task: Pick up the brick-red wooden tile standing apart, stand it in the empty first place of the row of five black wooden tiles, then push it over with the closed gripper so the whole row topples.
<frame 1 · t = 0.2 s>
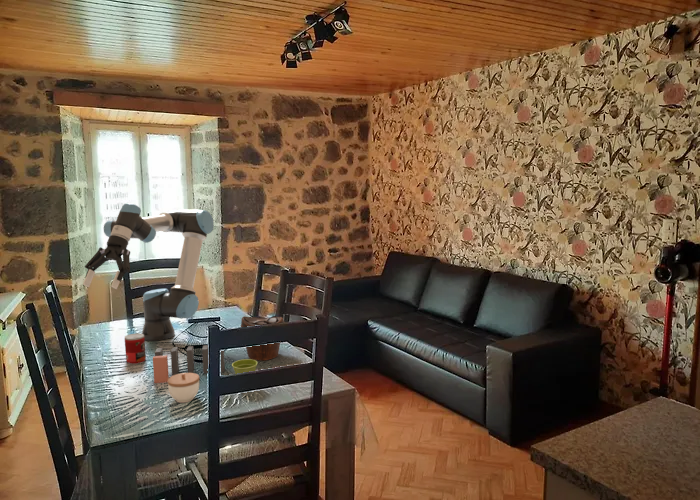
hand: (99, 287, 205), 36 cm above the table, tool tilted 35°, fingers open, 13 cm apart
plant pot: (245, 386, 199), on the table
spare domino: (161, 381, 203), on the table
domino 5: (206, 371, 214), on the table
lidded jar: (184, 399, 188), on the table
domino 6: (221, 370, 215), on the table
domino 4: (191, 372, 213), on the table
brown basket: (264, 356, 231), on the table
canned food: (136, 361, 226), on the table
domino 3: (175, 373, 212), on the table
domino 2: (160, 374, 211), on the table
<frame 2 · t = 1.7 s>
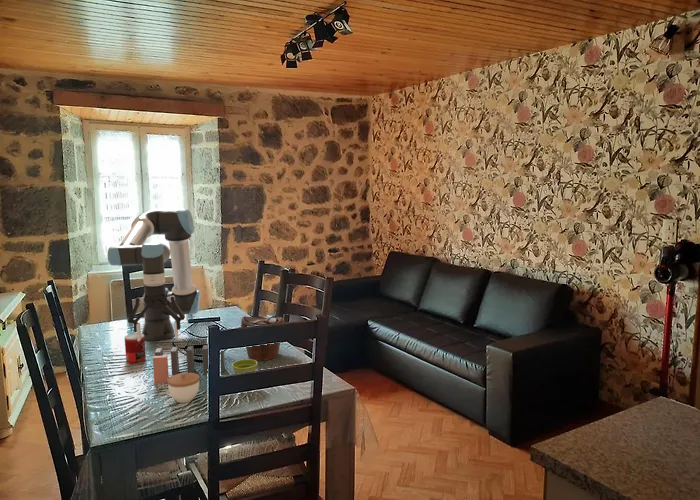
hand: (158, 339, 201), 17 cm above the table, tool pointing down, fingers open, 13 cm apart
nothing on the table moved.
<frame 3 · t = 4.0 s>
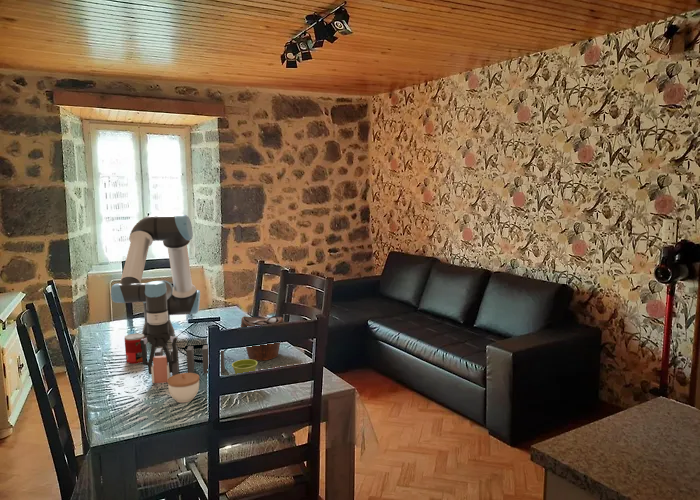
hand: (161, 381, 203), 0 cm above the table, tool pointing down, fingers closed on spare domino, 5 cm apart
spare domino: (161, 381, 203), on the table, touching gripper
everything else where it was.
when the fingers open (1 cm above the table, at t = 8.7 s): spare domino stays where it is, on the table.
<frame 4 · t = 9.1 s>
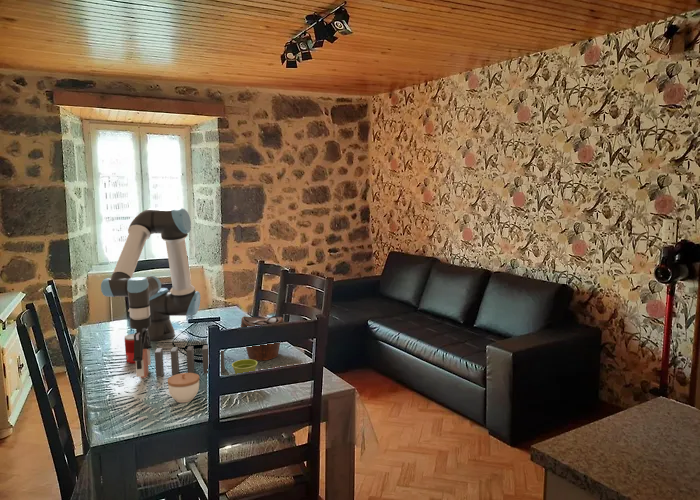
hand: (143, 370, 210), 2 cm above the table, tool pointing down, fingers open, 11 cm apart
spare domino: (144, 375, 210), on the table
everything else where it was.
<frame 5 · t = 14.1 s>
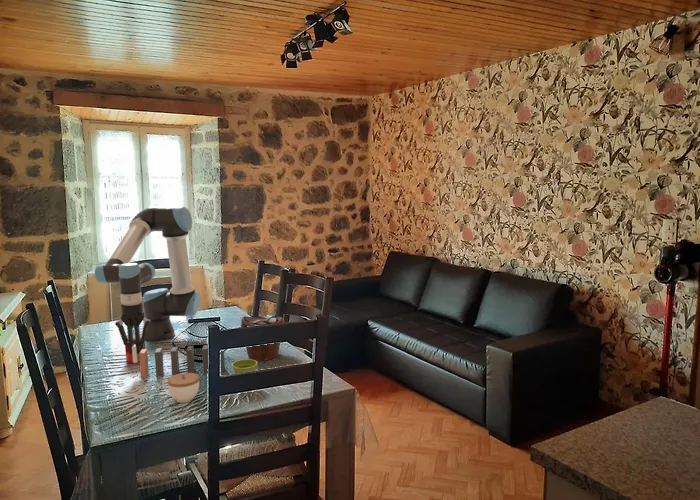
hand: (135, 361, 209), 6 cm above the table, tool pointing down, fingers closed
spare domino: (144, 375, 210), on the table, touching gripper
everything else where it was.
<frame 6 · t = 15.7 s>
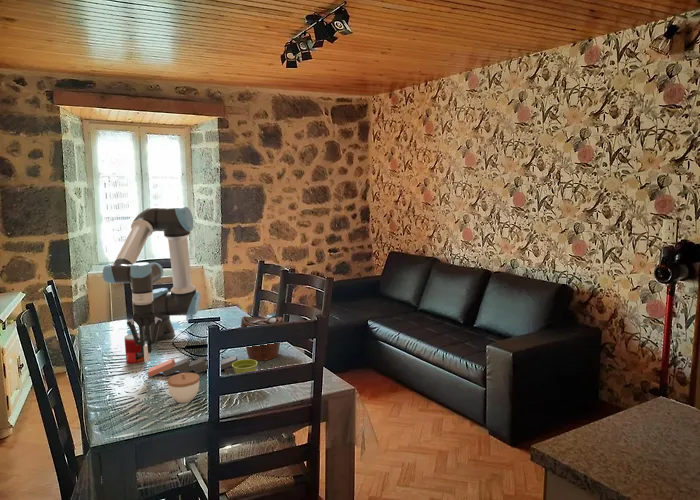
hand: (147, 360, 209), 6 cm above the table, tool pointing down, fingers closed
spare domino: (149, 372, 210), point 1 cm above the table, tilted 70°, touching domino 2
domino 5: (212, 368, 214), point 1 cm above the table, tilted 73°, touching domino 4, domino 6
domino 6: (224, 368, 215), on the table, tilted 90°, touching domino 5
domino 4: (195, 369, 213), point 1 cm above the table, tilted 72°, touching domino 5
domino 3: (180, 370, 212), point 1 cm above the table, tilted 72°, touching domino 2
domino 2: (164, 371, 211), point 1 cm above the table, tilted 70°, touching domino 3, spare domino
everything else where it was.
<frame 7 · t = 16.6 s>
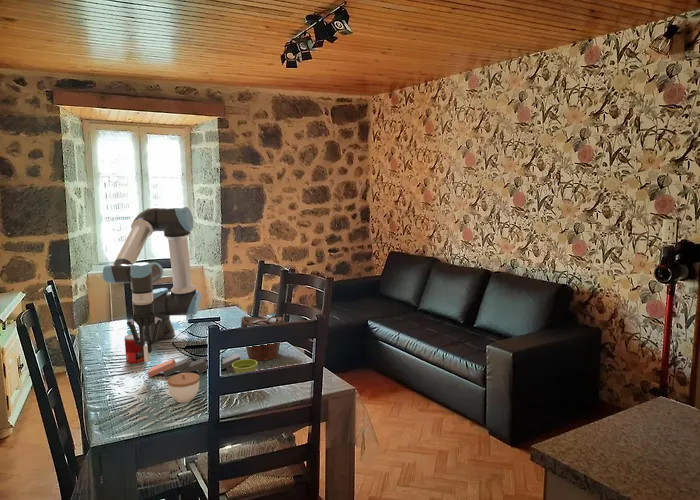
hand: (147, 360, 209), 6 cm above the table, tool pointing down, fingers closed
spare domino: (149, 372, 210), point 1 cm above the table, tilted 70°, touching domino 2
domino 5: (216, 367, 215), point 1 cm above the table, tilted 72°, touching domino 6
domino 4: (197, 369, 213), point 1 cm above the table, tilted 72°, touching domino 3
domino 3: (180, 370, 212), point 1 cm above the table, tilted 73°, touching domino 2, domino 4
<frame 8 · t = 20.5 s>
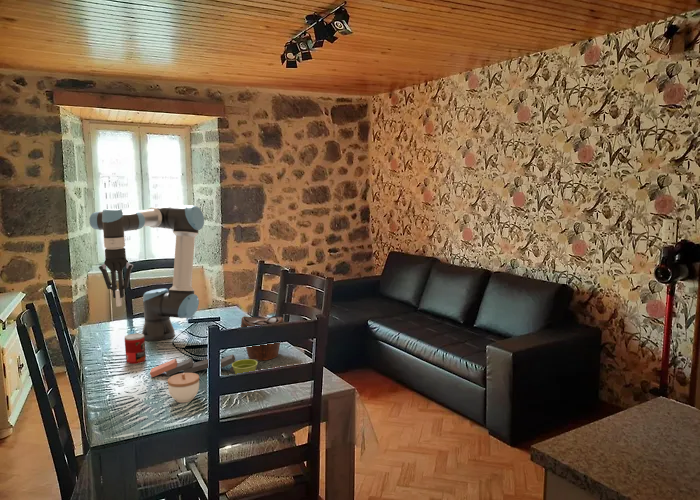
hand: (119, 305, 214), 26 cm above the table, tool pointing down, fingers closed
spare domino: (151, 373, 210), point 1 cm above the table, tilted 70°, touching domino 2
domino 5: (232, 365, 213), point 2 cm above the table, tilted 90°, touching domino 4
domino 6: (231, 368, 215), on the table, tilted 90°
domino 4: (210, 368, 214), point 1 cm above the table, tilted 68°, touching domino 3, domino 5
domino 3: (184, 370, 212), point 1 cm above the table, tilted 78°, touching domino 2, domino 4
at the end: domino 6 tilted 90°; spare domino tilted 70°; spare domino inside the target area (0.5 cm from its centre), point 0.9 cm above the table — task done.
